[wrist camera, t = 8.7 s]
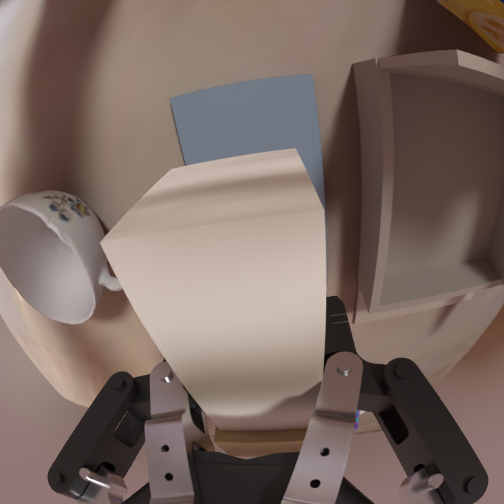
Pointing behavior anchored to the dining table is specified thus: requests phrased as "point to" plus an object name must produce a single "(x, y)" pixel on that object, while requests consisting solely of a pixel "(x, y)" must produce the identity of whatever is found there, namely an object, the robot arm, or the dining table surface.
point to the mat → (253, 123)
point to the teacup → (55, 254)
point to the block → (233, 291)
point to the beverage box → (481, 18)
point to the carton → (429, 181)
